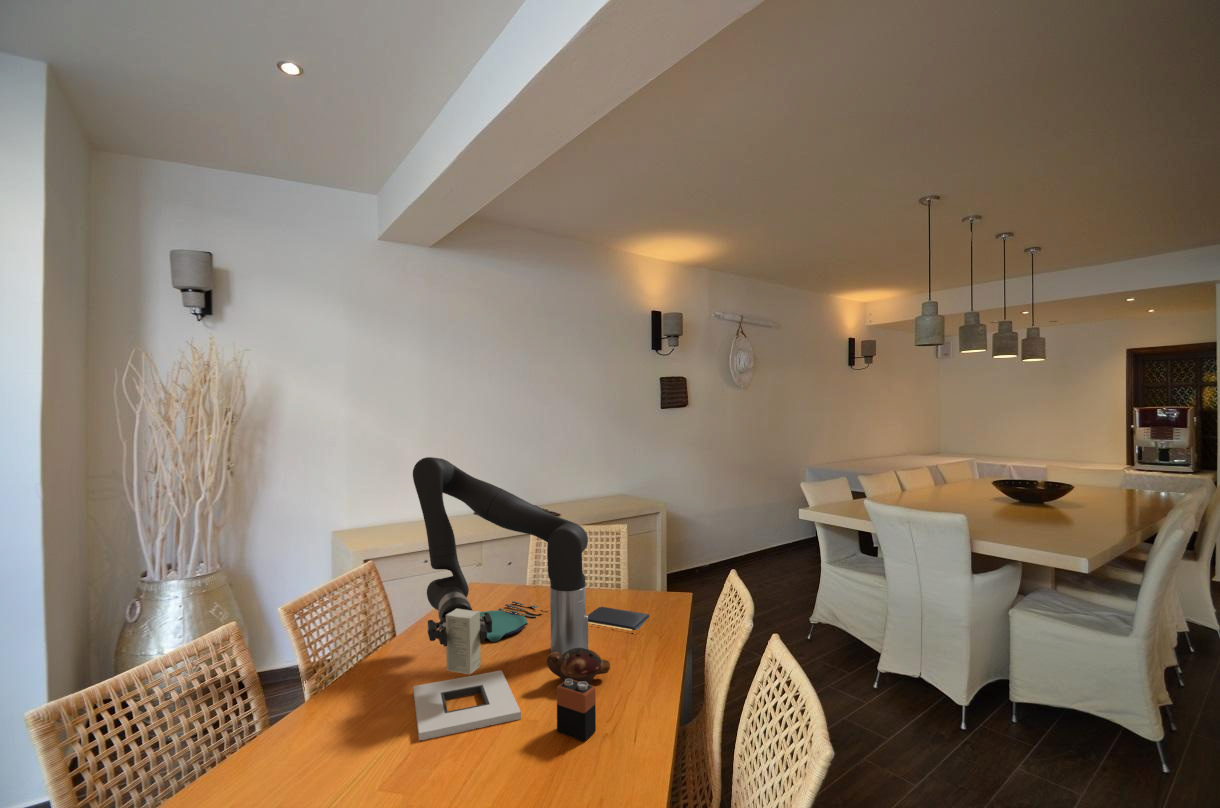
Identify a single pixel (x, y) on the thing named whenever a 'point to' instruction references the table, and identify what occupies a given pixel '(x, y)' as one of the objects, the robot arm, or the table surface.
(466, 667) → the skincare box
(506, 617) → the teal flat piece
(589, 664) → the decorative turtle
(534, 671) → the table surface
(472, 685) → the slot board
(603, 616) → the dark hardcover book
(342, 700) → the table surface
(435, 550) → the robot arm
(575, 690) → the battery
